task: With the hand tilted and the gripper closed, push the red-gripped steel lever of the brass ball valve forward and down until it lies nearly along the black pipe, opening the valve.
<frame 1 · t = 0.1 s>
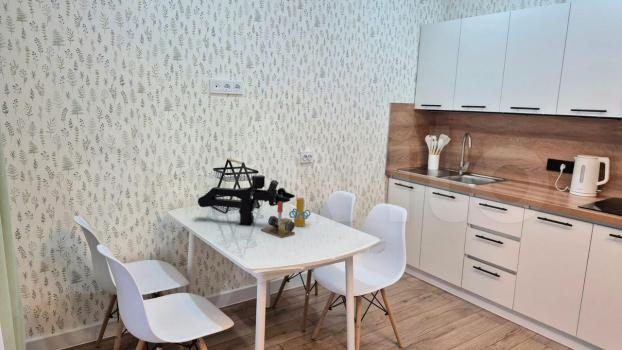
hand: (292, 198, 227), 17 cm above the table, tool horizontal, fingers open, 9 cm apart
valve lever: (279, 213, 217), point 11 cm above the table, hinge at 0.0°
orange post with rings: (299, 225, 237), on the table
valve: (285, 233, 221), on the table
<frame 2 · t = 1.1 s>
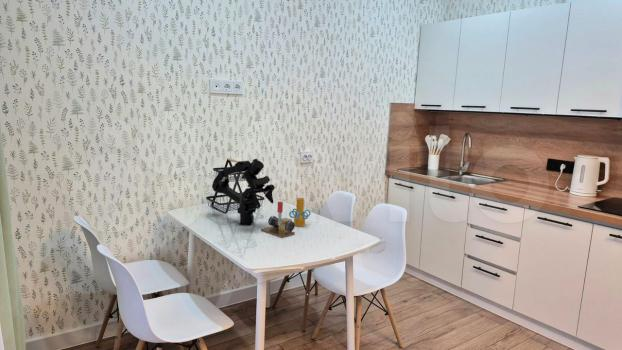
hand: (266, 204, 223), 14 cm above the table, tool tilted 45°, fingers open, 9 cm apart
nothing on the table moved.
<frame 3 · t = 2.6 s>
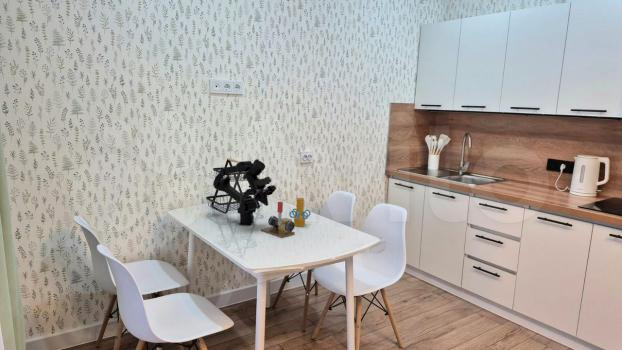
hand: (267, 205, 222), 13 cm above the table, tool tilted 45°, fingers closed
nothing on the table moved.
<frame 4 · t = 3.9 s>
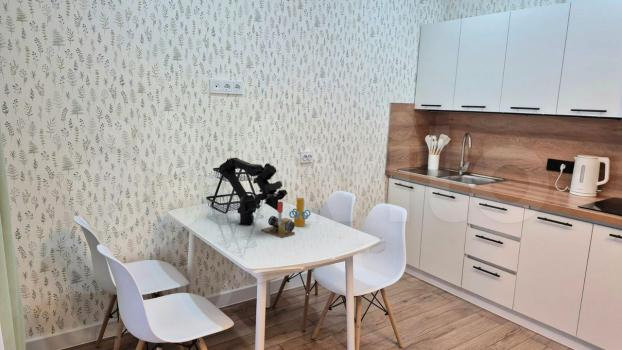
hand: (278, 210, 217), 12 cm above the table, tool tilted 45°, fingers closed, pressing on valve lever
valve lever: (280, 213, 216), point 11 cm above the table, hinge at 0.5°, touching gripper
everything else where it was.
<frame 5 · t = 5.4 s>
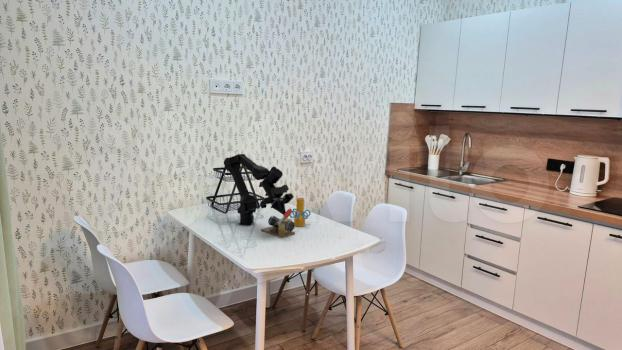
hand: (285, 214, 214), 11 cm above the table, tool tilted 45°, fingers closed, pressing on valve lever
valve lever: (284, 217, 215), point 10 cm above the table, hinge at 41.7°, touching gripper
everything else where it was.
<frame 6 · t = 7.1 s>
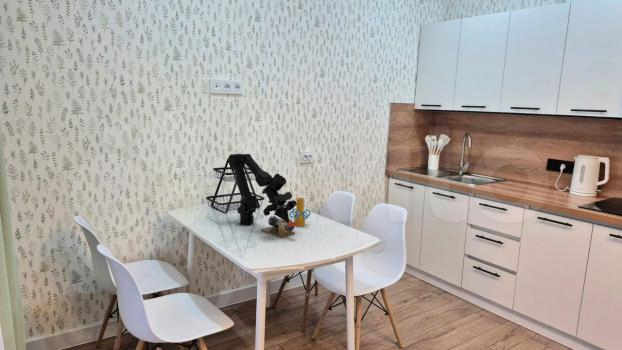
hand: (288, 221, 213), 8 cm above the table, tool tilted 45°, fingers closed, pressing on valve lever
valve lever: (286, 223, 214), point 7 cm above the table, hinge at 79.8°, touching gripper
everything else where it was.
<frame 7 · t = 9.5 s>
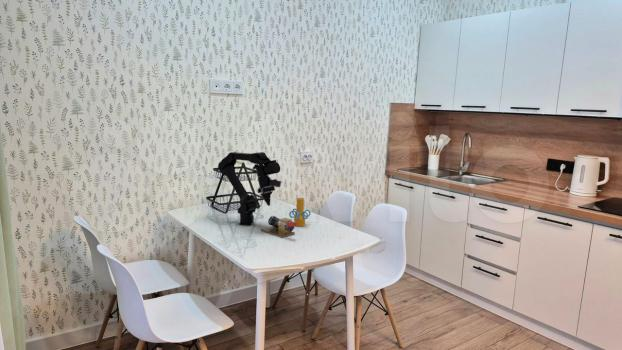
hand: (269, 205, 225), 13 cm above the table, tool tilted 15°, fingers closed
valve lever: (286, 223, 214), point 7 cm above the table, hinge at 79.9°
everything else where it was.
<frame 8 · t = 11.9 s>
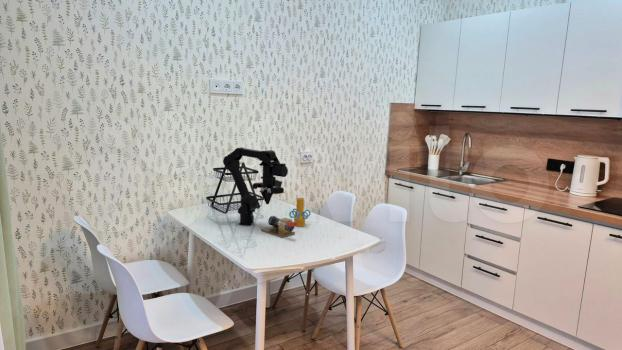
hand: (267, 204, 227), 13 cm above the table, tool pointing down, fingers closed
nothing on the table moved.
at the end: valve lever at +80° (first picture: +0°); orange post with rings moved 0.2 cm from its start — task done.
